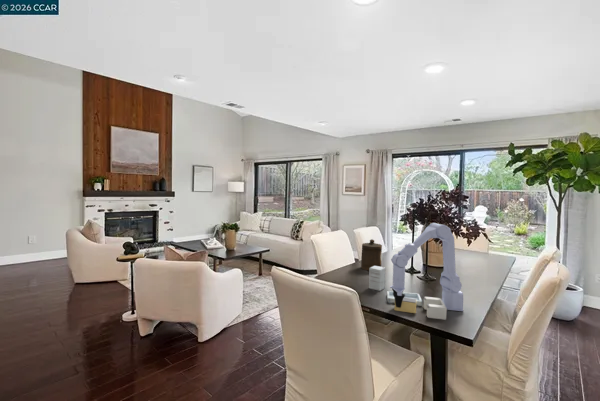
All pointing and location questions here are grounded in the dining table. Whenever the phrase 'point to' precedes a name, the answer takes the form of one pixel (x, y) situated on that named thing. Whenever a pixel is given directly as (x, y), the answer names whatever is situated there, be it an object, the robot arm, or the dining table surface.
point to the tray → (407, 295)
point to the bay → (435, 308)
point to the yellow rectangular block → (407, 305)
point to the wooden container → (371, 255)
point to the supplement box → (377, 278)
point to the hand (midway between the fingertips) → (397, 304)
